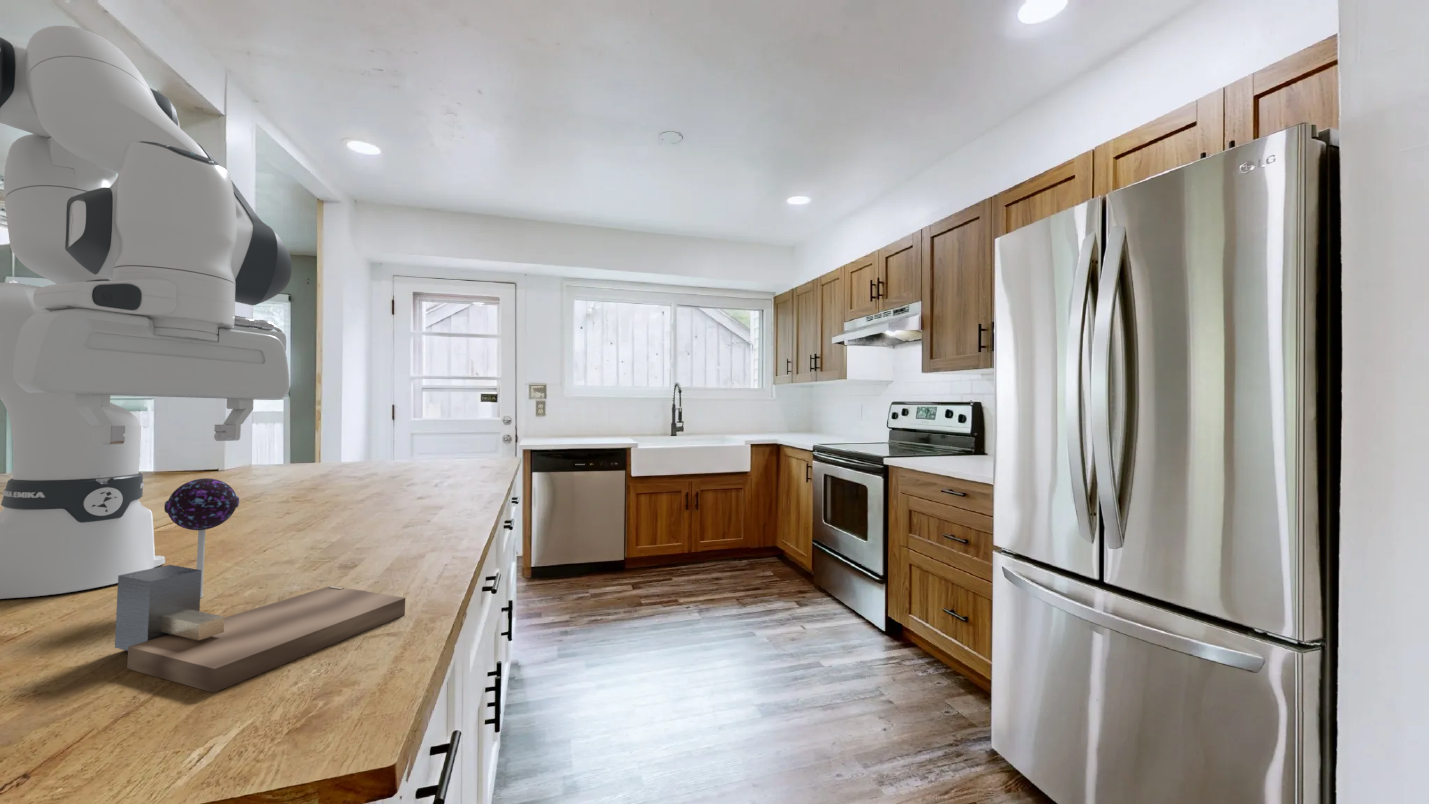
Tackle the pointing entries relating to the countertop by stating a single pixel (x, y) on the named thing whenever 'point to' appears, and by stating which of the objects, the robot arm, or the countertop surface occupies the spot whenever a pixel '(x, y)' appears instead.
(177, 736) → the countertop surface
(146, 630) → the upright grey metal block
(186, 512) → the lollipop
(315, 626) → the board
